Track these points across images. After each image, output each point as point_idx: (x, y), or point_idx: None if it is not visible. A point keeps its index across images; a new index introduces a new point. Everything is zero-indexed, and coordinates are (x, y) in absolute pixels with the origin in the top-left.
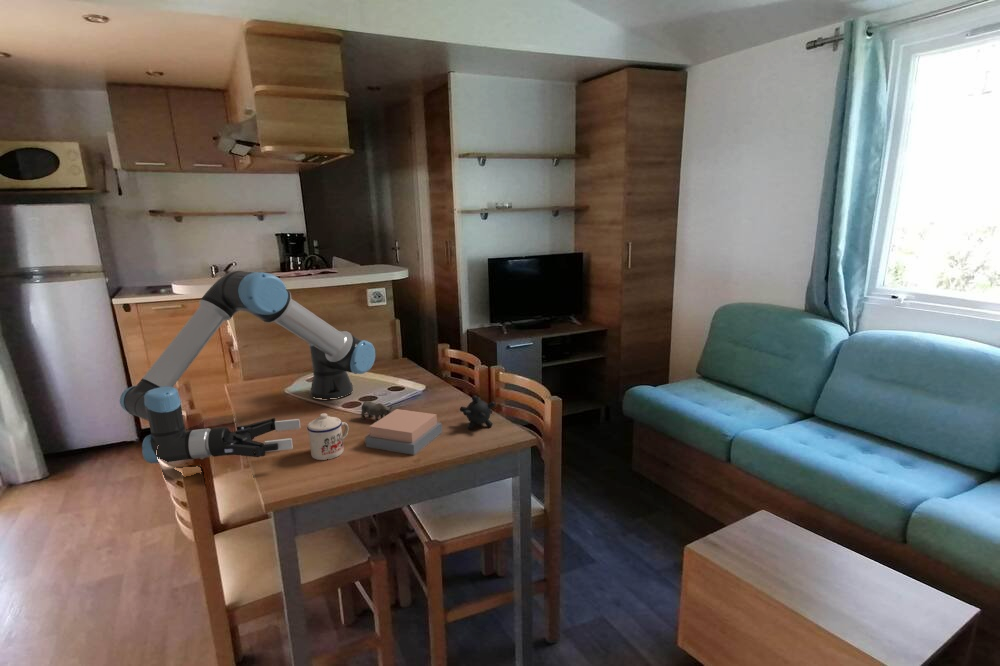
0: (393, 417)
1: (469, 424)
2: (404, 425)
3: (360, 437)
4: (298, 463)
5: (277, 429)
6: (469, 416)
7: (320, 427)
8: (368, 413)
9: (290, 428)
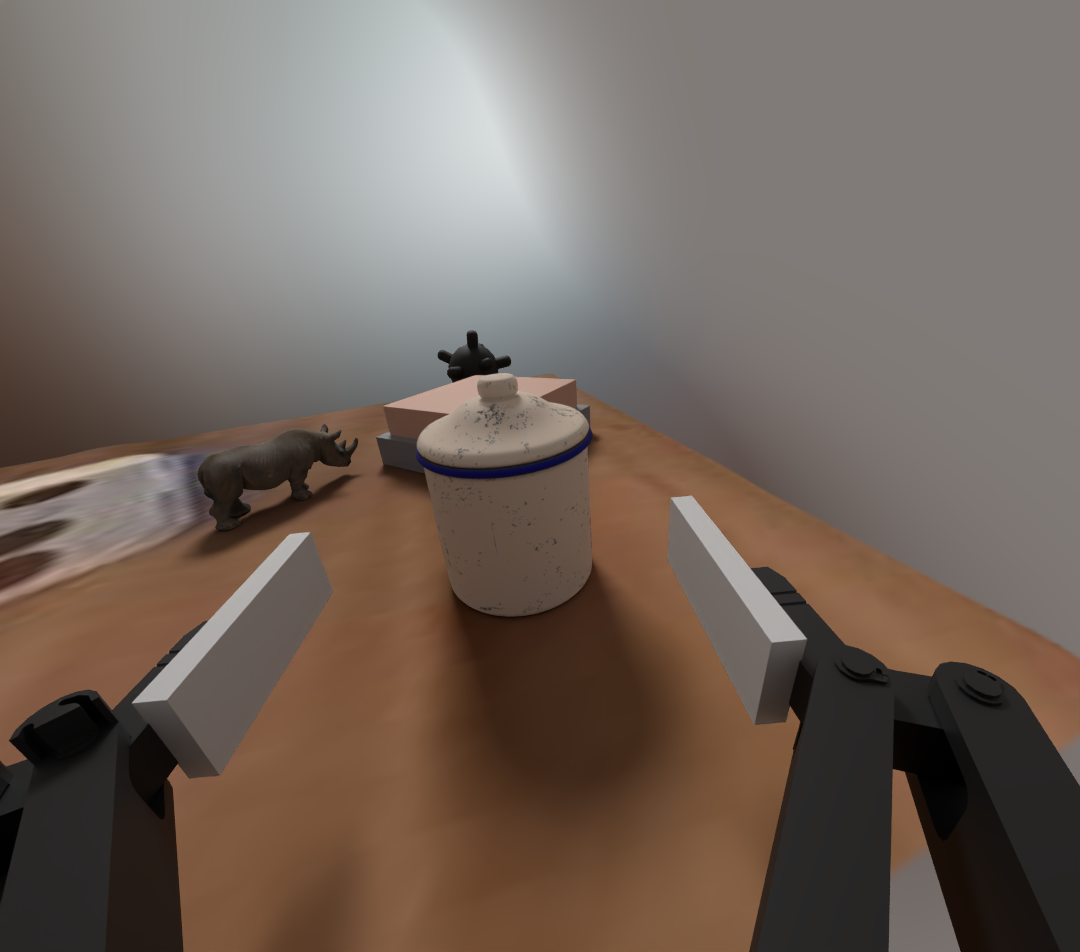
0: (449, 402)
1: None
2: (522, 388)
3: (415, 511)
4: (611, 659)
5: (226, 740)
6: (486, 373)
7: (573, 417)
8: (264, 485)
9: (296, 636)
